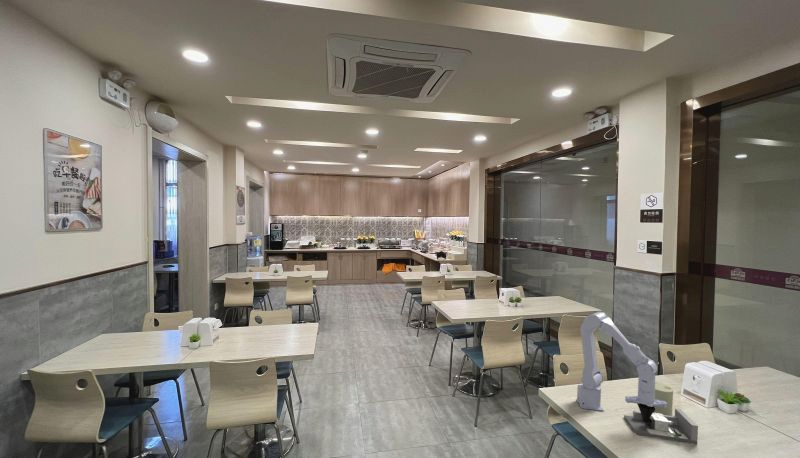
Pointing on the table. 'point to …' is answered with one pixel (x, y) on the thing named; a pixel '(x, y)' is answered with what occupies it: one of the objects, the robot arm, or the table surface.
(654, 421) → the white mechanical block
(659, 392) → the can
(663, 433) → the gauge base
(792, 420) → the table surface
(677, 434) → the peak marker
